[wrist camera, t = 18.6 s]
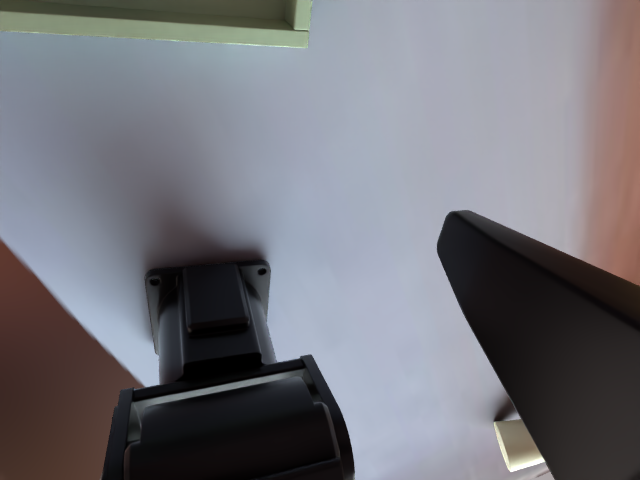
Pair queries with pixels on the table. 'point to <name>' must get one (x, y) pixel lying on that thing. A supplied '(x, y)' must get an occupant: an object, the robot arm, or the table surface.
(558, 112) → the table surface
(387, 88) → the table surface
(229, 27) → the tray
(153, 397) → the robot arm
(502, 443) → the flower vase
